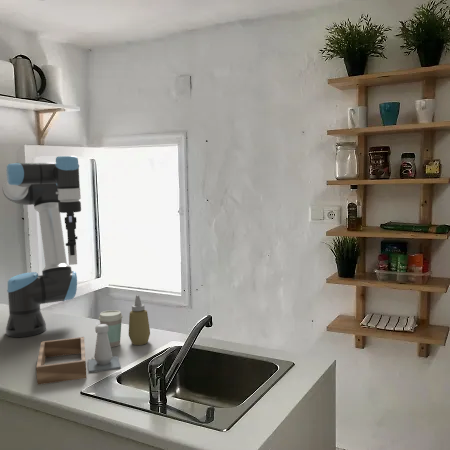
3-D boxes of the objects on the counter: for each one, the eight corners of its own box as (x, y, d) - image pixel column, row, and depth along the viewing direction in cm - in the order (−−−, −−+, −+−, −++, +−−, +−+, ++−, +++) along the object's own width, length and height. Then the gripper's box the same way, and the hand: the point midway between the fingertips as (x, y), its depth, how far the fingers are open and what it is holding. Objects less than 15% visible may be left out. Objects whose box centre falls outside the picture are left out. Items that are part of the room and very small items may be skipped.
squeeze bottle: (124, 345, 184) (122, 297, 182) (136, 338, 192) (134, 292, 190) (143, 347, 181) (141, 299, 179) (154, 340, 189) (152, 293, 187)
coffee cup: (128, 342, 188) (126, 311, 186) (114, 349, 180) (112, 317, 179) (109, 339, 191) (108, 308, 190) (95, 346, 184) (93, 315, 182)
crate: (42, 356, 175) (41, 341, 174) (84, 351, 179) (84, 336, 178) (37, 384, 152) (36, 367, 151) (86, 378, 156) (85, 361, 156)
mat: (88, 361, 170) (87, 359, 170) (118, 357, 173) (117, 355, 172) (88, 372, 160) (88, 370, 160) (120, 368, 163) (120, 366, 163)
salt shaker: (108, 366, 163) (106, 328, 162) (91, 365, 164) (89, 327, 163) (115, 360, 169) (113, 322, 167) (99, 359, 170) (97, 322, 168)
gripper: (59, 199, 185) (62, 255, 187) (56, 203, 161) (61, 268, 164) (80, 198, 187) (83, 254, 189) (81, 202, 163) (84, 266, 166)
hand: (73, 261), depth 177 cm, fingers open, 13 cm apart
